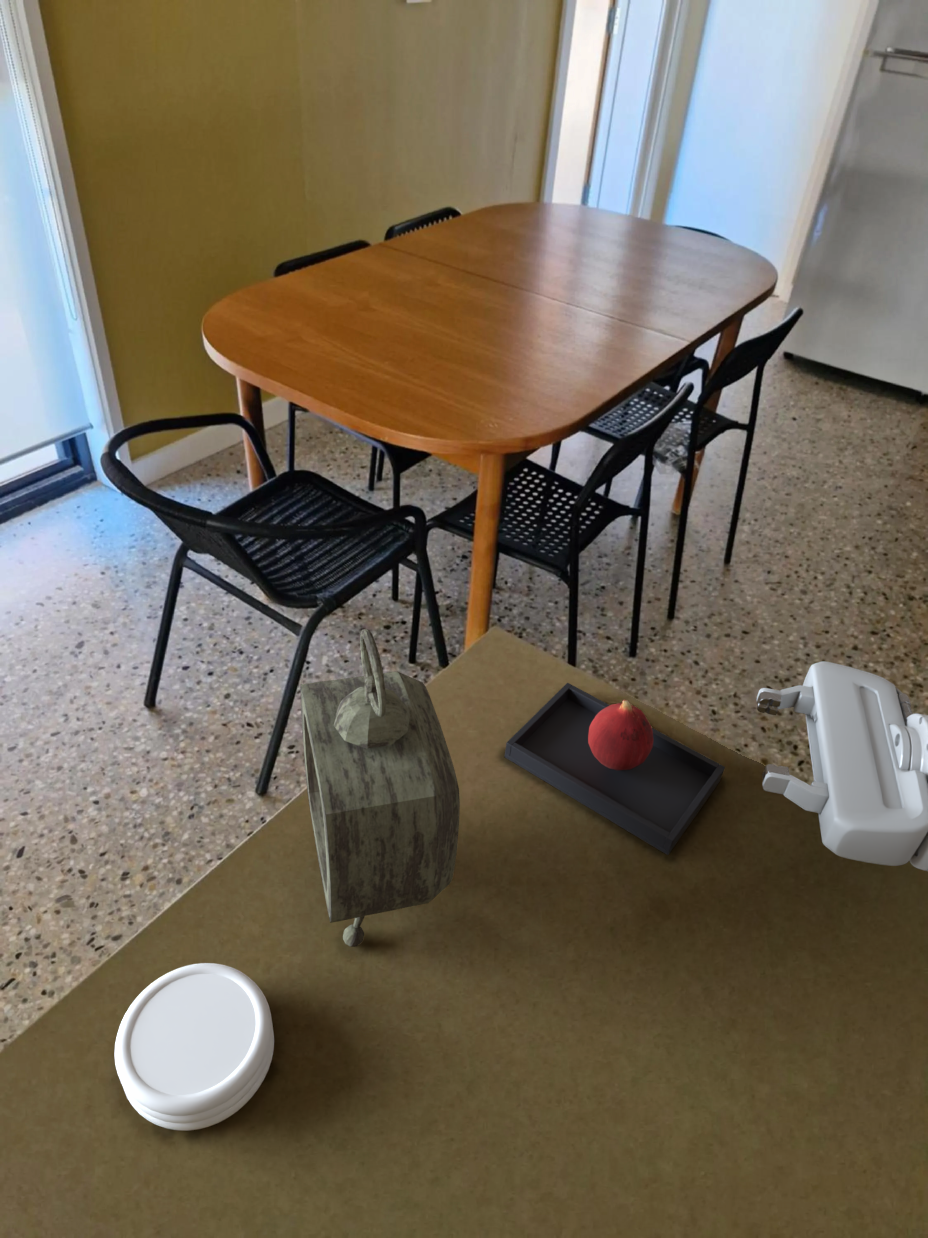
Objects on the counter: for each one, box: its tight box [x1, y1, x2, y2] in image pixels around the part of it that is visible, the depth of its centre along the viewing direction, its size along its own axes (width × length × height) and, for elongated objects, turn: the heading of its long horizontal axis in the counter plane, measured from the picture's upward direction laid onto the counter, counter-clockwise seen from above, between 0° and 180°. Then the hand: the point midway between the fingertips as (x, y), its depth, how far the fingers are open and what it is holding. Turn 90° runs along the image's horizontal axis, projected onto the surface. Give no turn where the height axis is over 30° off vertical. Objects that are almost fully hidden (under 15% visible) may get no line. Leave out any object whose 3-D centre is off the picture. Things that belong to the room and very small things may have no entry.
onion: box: [588, 699, 653, 770], centre depth 81 cm, size 6×6×8 cm
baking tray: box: [503, 682, 726, 856], centre depth 83 cm, size 17×11×2 cm, turn 53°
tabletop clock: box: [299, 628, 461, 948], centre depth 65 cm, size 14×9×25 cm, turn 15°
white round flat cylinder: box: [113, 962, 275, 1131], centre depth 59 cm, size 10×10×4 cm
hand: (760, 736), depth 77 cm, fingers open, 8 cm apart
